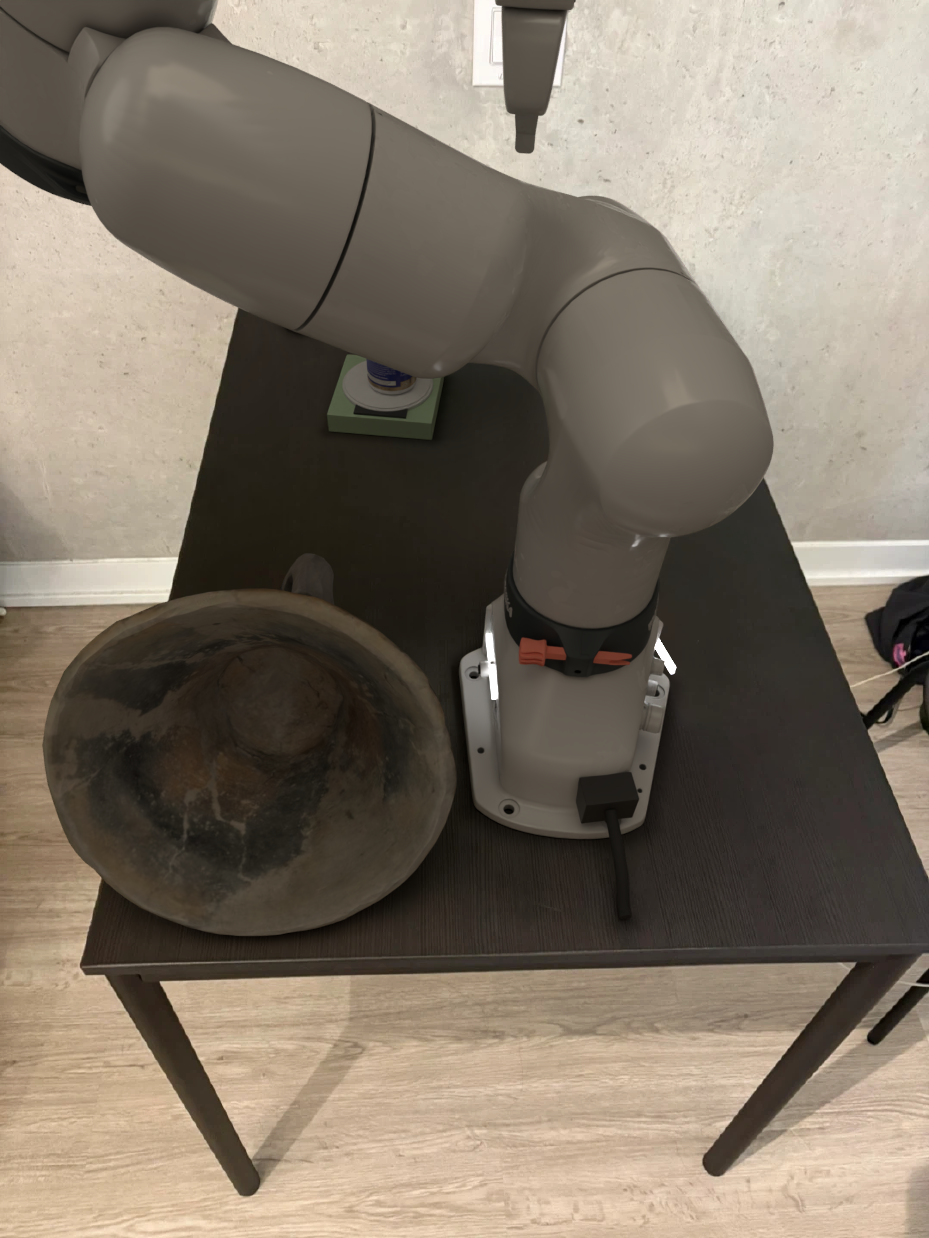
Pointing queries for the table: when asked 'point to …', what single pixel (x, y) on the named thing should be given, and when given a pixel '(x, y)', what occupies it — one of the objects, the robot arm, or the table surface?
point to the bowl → (249, 758)
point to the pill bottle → (388, 379)
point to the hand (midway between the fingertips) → (527, 130)
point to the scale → (382, 405)
